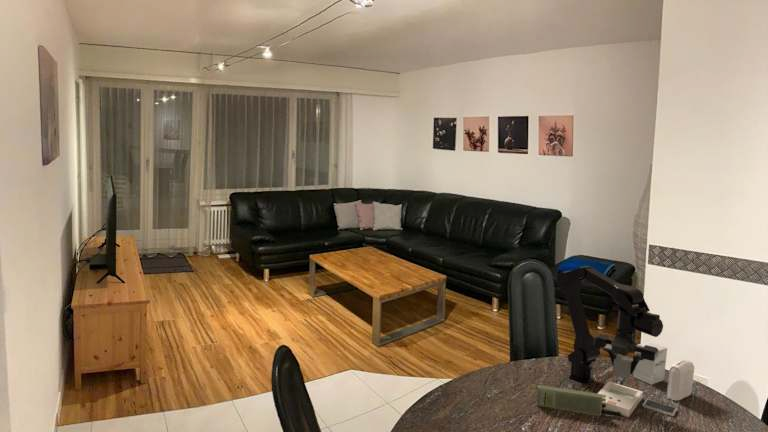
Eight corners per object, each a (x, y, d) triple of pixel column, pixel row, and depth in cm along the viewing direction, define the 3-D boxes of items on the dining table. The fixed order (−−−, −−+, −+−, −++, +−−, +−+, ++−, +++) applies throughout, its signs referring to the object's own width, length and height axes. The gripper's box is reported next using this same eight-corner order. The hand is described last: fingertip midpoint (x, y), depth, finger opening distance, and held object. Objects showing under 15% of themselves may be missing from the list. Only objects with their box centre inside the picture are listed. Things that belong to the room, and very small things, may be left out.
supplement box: (652, 385, 182) (655, 351, 180) (633, 377, 188) (636, 344, 187) (664, 380, 186) (668, 347, 184) (645, 372, 192) (648, 340, 190)
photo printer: (680, 389, 179) (683, 355, 178) (693, 394, 176) (697, 360, 174) (664, 397, 174) (668, 362, 172) (677, 402, 170) (681, 367, 168)
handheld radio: (536, 402, 169) (619, 415, 162) (536, 407, 166) (621, 421, 159) (537, 383, 168) (621, 395, 161) (537, 388, 165) (622, 401, 158)
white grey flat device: (592, 405, 167) (593, 397, 167) (607, 388, 179) (608, 380, 179) (628, 417, 160) (629, 409, 160) (642, 398, 172) (642, 391, 172)
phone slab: (673, 416, 161) (673, 414, 161) (642, 406, 167) (642, 404, 167) (676, 410, 165) (677, 407, 165) (646, 401, 171) (646, 398, 171)
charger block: (612, 374, 171) (614, 359, 170) (617, 369, 175) (618, 354, 174) (628, 379, 168) (630, 363, 167) (632, 374, 172) (634, 358, 171)
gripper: (590, 325, 169) (586, 370, 171) (652, 340, 157) (647, 389, 159) (600, 317, 177) (597, 360, 179) (661, 331, 165) (656, 376, 168)
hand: (623, 371), depth 171 cm, fingers closed on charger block, 5 cm apart
